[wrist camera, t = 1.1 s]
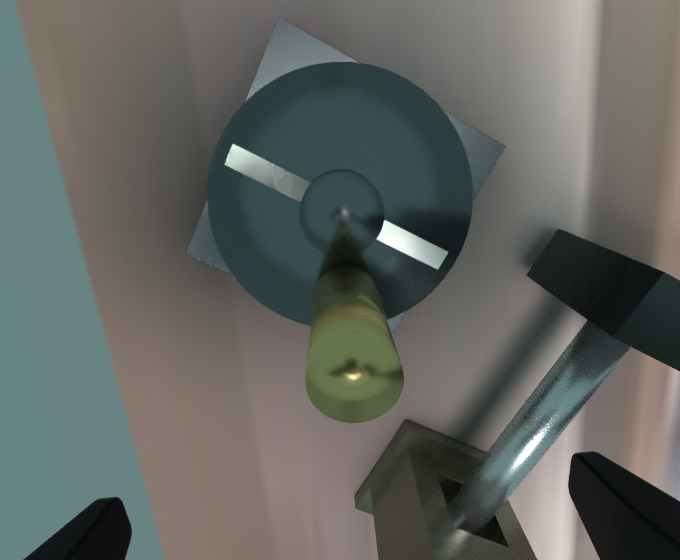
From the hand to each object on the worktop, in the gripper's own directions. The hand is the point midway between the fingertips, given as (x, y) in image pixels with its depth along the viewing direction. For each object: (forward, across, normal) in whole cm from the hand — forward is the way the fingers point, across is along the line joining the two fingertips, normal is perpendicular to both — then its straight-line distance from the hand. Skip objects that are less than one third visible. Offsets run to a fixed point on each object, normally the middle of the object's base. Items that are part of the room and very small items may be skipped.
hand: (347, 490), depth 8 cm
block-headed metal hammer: (+11, -8, +7) cm, 15 cm away
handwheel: (+11, 0, -4) cm, 11 cm away
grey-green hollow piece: (+12, -4, +13) cm, 18 cm away
